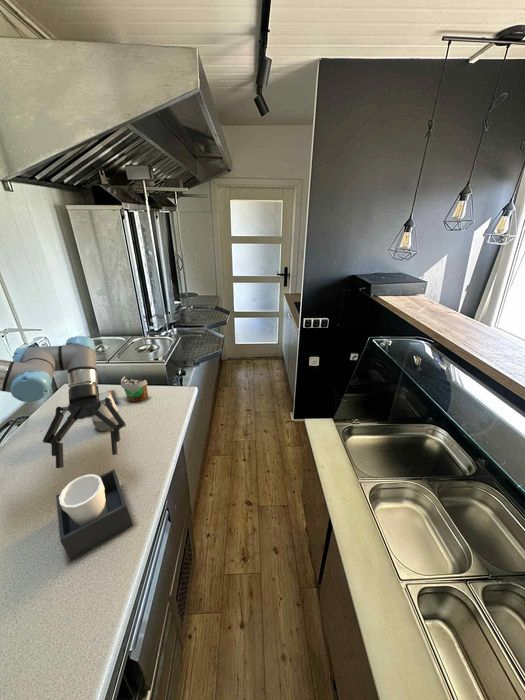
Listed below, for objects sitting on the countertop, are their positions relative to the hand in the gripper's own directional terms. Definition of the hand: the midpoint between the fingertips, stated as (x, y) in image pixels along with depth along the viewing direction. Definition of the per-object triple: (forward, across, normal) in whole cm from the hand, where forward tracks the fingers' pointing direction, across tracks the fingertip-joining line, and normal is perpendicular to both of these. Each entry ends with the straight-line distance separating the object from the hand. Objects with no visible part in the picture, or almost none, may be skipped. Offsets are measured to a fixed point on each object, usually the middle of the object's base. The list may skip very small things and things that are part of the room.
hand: (88, 461), depth 79 cm
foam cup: (+16, 0, -4) cm, 16 cm away
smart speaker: (-14, +3, -35) cm, 38 cm away
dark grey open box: (+16, 0, -5) cm, 17 cm away
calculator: (-27, +9, -48) cm, 55 cm away
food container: (-24, -6, -45) cm, 52 cm away
